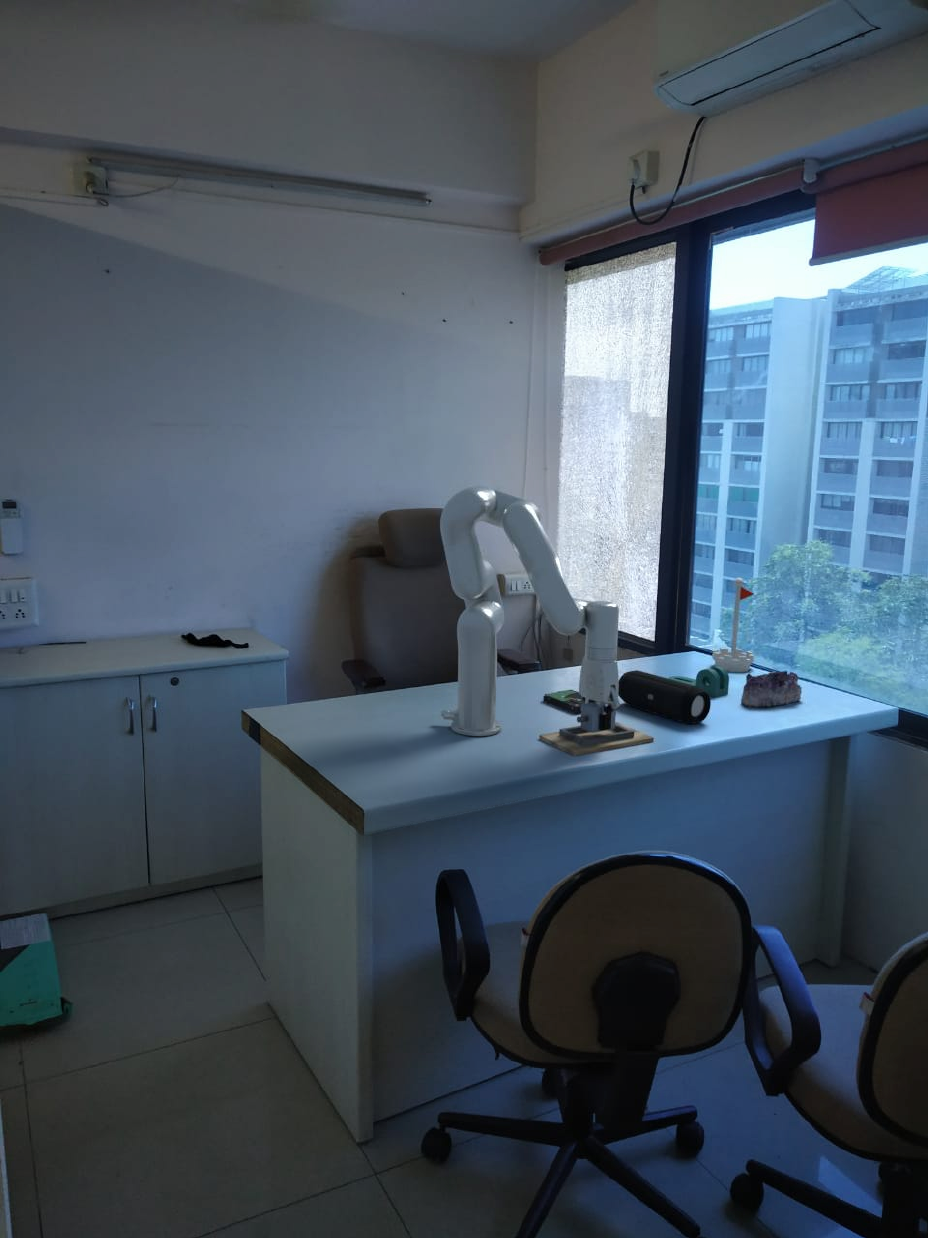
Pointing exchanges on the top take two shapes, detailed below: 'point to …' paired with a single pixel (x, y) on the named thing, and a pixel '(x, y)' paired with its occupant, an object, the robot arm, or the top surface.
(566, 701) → the disk drive
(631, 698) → the portable speaker
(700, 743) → the top surface
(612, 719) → the connector plug
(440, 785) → the top surface
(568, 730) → the end holder
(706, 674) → the bracket
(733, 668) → the flag stand
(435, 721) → the top surface
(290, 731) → the top surface
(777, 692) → the geode
